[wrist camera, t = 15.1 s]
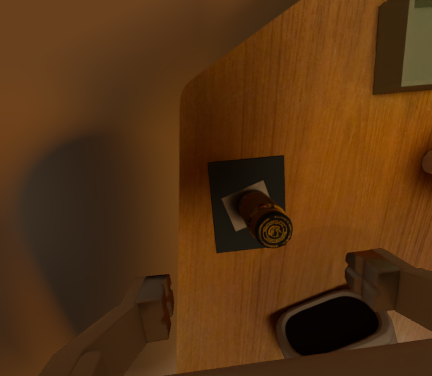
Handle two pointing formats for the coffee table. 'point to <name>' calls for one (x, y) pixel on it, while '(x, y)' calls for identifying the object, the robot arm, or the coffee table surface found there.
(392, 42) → the tray
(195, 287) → the coffee table surface
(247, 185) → the mat
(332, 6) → the coffee table surface
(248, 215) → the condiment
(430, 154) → the cup
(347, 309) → the alarm clock
